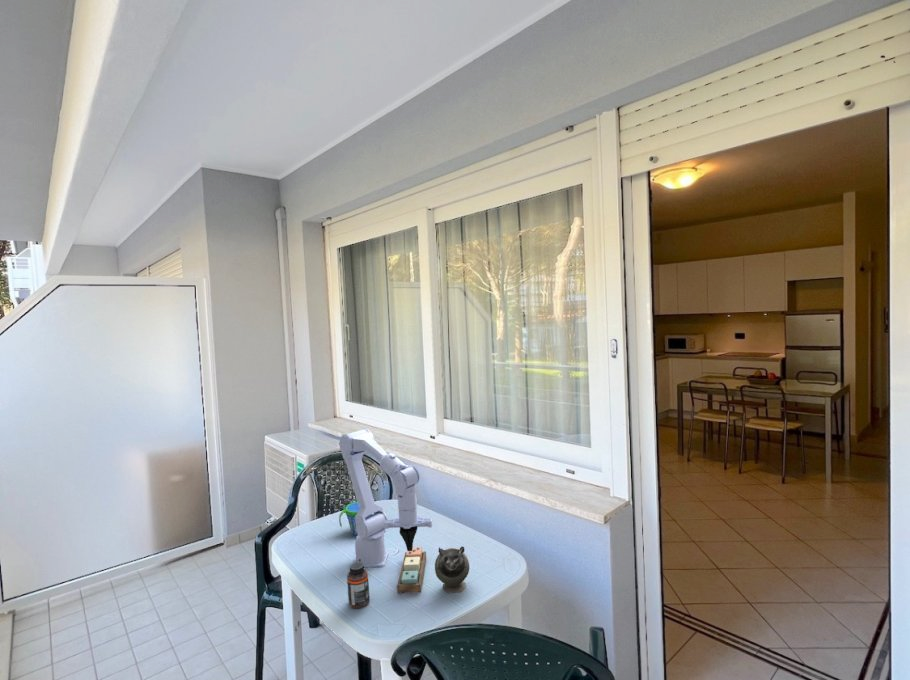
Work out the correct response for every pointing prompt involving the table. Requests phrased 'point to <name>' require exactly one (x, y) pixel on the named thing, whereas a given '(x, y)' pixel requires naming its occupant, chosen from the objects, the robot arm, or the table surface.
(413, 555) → the tile three
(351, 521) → the snack cup
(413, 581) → the tile two
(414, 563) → the tile one
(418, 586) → the tile tray
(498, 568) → the table surface
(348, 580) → the supplement bottle
